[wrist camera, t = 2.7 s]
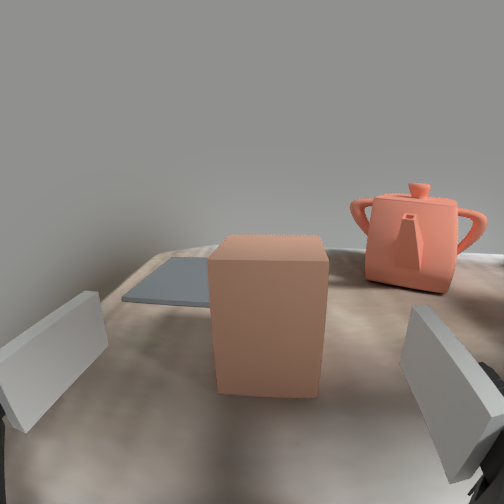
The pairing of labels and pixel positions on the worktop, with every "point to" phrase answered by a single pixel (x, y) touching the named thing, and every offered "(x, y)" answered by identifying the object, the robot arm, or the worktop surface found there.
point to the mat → (174, 284)
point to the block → (268, 314)
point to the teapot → (414, 238)
